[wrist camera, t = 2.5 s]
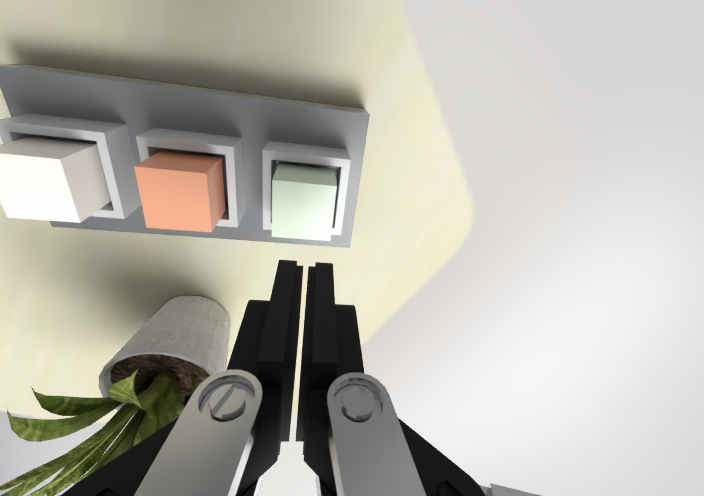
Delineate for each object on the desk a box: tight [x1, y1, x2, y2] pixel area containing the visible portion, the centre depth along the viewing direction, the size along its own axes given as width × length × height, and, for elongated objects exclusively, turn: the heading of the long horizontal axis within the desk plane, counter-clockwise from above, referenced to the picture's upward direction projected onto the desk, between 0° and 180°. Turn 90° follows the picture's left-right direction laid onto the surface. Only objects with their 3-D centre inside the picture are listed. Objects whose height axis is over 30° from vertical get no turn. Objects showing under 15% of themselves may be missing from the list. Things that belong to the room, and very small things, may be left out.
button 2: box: [134, 151, 225, 232], centre depth 15 cm, size 3×3×2 cm
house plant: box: [0, 295, 230, 496], centre depth 18 cm, size 14×14×16 cm
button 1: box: [0, 137, 111, 223], centre depth 14 cm, size 3×3×2 cm
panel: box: [0, 64, 370, 248], centre depth 17 cm, size 8×17×4 cm, turn 82°
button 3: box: [272, 164, 337, 241], centre depth 16 cm, size 3×3×2 cm
